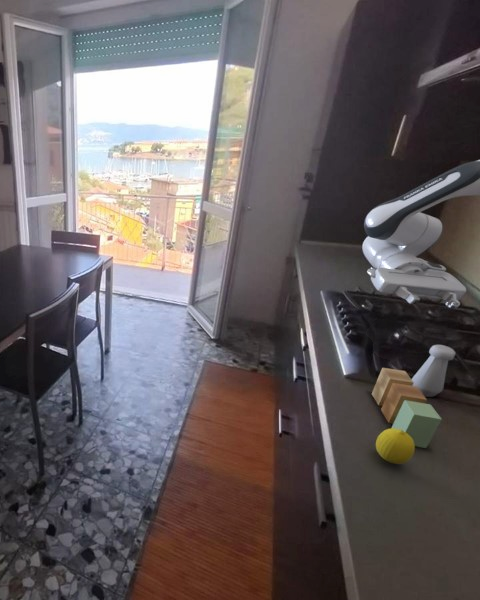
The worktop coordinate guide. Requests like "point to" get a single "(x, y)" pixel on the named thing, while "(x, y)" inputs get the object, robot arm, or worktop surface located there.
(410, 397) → the block
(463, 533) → the worktop surface
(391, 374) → the block
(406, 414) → the block
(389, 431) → the lemon
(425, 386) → the salt shaker
